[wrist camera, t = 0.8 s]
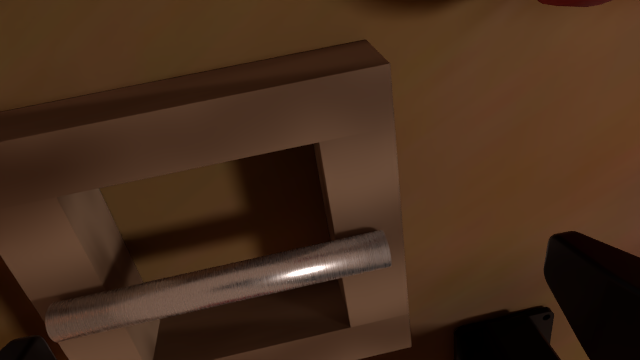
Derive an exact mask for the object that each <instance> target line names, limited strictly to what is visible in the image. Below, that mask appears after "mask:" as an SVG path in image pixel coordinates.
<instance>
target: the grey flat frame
mask: <svg viewBox="0 0 640 360" xmlns="http://www.w3.org/2000/svg"><path fill="white" fill-rule="evenodd" d="M308 144H313V146H314V152H315V157H316V163H317V168H318V174H319V180H320V185H321V191H322V196H323V202H324V208H325V213H326V219H327V224H328V230H329V235H330V241H333V240H338V239H342V238H347V237H351V236H356V235H360V234H365V233H369V232H374V231H378V230H383V231H384V233H385V236H386V238H387V241H388V245H389V249H390V254H391V261H392V265H391V267H387V268H382V269H378V270H374V271H369V272H365V273H360V274H356V275H352V276H347V277H343V278H338V279H334V280H330V281H325V282H321V283H316V284H312V285H308V286H303V287H299V288H295V289H290V290H286V291H281V292H277V293H273V294H268V295H264V296H259V297H255V298H251V299H246V300H242V301H237V302H233V303H229V304H224V305H220V306H215V307H211V308H207V309H202V310H198V311H193V312H189V313H185V314H180V315H176V316H171V317H167V318H163V319H158V320H154V321H149V322H145V323H141V324H136V325H132V326H127V327H123V328H119V329H114V330H110V331H105V332H101V333H97V334H92V335H88V336H83V337H79V338H75V339H70V340H66V341H61V342H58V344H59V345H60V347H61V348H62V350H63V351H64V353H65V354H66V356H67V357H68V359H69V360H358V359H363V358H367V357H371V356H375V355H379V354H384V353H388V352H392V351H396V350H400V349H405V348H409V347H412V346H411V333H410V320H409V306H408V293H407V280H406V267H405V254H404V241H403V227H402V214H401V201H400V188H399V175H398V162H397V148H396V135H395V122H394V109H393V96H392V83H391V69H390V63H389V62H388V61H387V60H386V59H385V58H384V57H383V56H382V55H381V54H380V53H379V52H378V51H377V50H376V49H375V48H374V47H373V46H372V45H371V44H370V43H369V42H368V41H367V40H362V41H357V42H352V43H347V44H342V45H337V46H332V47H327V48H322V49H317V50H312V51H307V52H302V53H297V54H291V55H286V56H281V57H276V58H271V59H266V60H261V61H256V62H251V63H246V64H241V65H236V66H231V67H226V68H221V69H216V70H211V71H206V72H201V73H195V74H190V75H185V76H180V77H175V78H170V79H165V80H160V81H155V82H150V83H145V84H140V85H135V86H130V87H125V88H120V89H115V90H110V91H104V92H99V93H94V94H89V95H84V96H79V97H74V98H69V99H64V100H59V101H54V102H49V103H44V104H39V105H34V106H29V107H24V108H19V109H13V110H8V111H3V112H0V255H1V257H2V258H3V260H4V262H5V263H6V265H7V266H8V268H9V269H10V271H11V272H12V274H13V275H14V277H15V278H16V280H17V281H18V283H19V284H20V286H21V287H22V289H23V290H24V292H25V293H26V295H27V297H28V298H29V300H30V301H31V303H32V304H33V306H34V307H35V309H36V310H37V312H38V313H39V315H40V316H41V318H42V319H43V321H44V322H45V316H46V311H47V309H48V307H49V305H50V304H52V303H55V302H59V301H64V300H68V299H73V298H77V297H82V296H86V295H91V294H95V293H100V292H104V291H109V290H113V289H118V288H122V287H127V286H131V285H136V284H140V283H143V281H142V279H141V277H140V275H139V273H138V270H137V268H136V266H135V264H134V262H133V260H132V258H131V256H130V253H129V251H128V249H127V247H126V245H125V243H124V241H123V239H122V236H121V234H120V232H119V230H118V228H117V226H116V224H115V222H114V219H113V217H112V215H111V213H110V211H109V209H108V207H107V204H106V202H105V200H104V198H103V196H102V194H101V192H100V190H99V188H103V187H108V186H112V185H117V184H122V183H127V182H132V181H136V180H141V179H146V178H151V177H155V176H160V175H165V174H170V173H174V172H179V171H184V170H189V169H194V168H198V167H203V166H208V165H213V164H217V163H222V162H227V161H232V160H236V159H241V158H246V157H251V156H256V155H260V154H265V153H270V152H275V151H279V150H284V149H289V148H294V147H299V146H303V145H308Z"/></svg>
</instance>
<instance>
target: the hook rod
mask: <svg viewBox="0 0 640 360" xmlns="http://www.w3.org/2000/svg"><path fill="white" fill-rule="evenodd" d="M391 265H392V261H391V254H390V249H389V245H388V241H387V238H386V236H385V233H384V231H383V230H378V231H374V232H369V233H365V234H360V235H356V236H351V237H347V238H342V239H338V240H333V241H329V242H324V243H320V244H315V245H311V246H306V247H302V248H297V249H293V250H289V251H284V252H280V253H275V254H271V255H266V256H262V257H257V258H253V259H248V260H244V261H239V262H235V263H230V264H226V265H221V266H217V267H212V268H208V269H203V270H199V271H194V272H190V273H185V274H181V275H176V276H172V277H167V278H163V279H158V280H154V281H149V282H145V283H140V284H136V285H131V286H127V287H122V288H118V289H113V290H109V291H104V292H100V293H95V294H91V295H86V296H82V297H77V298H73V299H68V300H64V301H59V302H55V303H52V304H50V305H49V307H48V309H47V311H46V316H45V325H46V330H47V333H48V335H49V337H50V338H51V340H52V341H54V342H61V341H66V340H70V339H75V338H79V337H83V336H88V335H92V334H97V333H101V332H105V331H110V330H114V329H119V328H123V327H127V326H132V325H136V324H141V323H145V322H149V321H154V320H158V319H163V318H167V317H171V316H176V315H180V314H185V313H189V312H193V311H198V310H202V309H207V308H211V307H215V306H220V305H224V304H229V303H233V302H237V301H242V300H246V299H251V298H255V297H259V296H264V295H268V294H273V293H277V292H281V291H286V290H290V289H295V288H299V287H303V286H308V285H312V284H316V283H321V282H325V281H330V280H334V279H338V278H343V277H347V276H352V275H356V274H360V273H365V272H369V271H374V270H378V269H382V268H387V267H391Z"/></svg>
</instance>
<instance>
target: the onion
mask: <svg viewBox="0 0 640 360" xmlns="http://www.w3.org/2000/svg"><path fill="white" fill-rule="evenodd" d="M538 1H539V2H541V3H542V4H548V5H554V6H574V7H589V6H595V5H600V4H603V3H606V2H609V1H611V0H538Z"/></svg>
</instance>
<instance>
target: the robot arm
mask: <svg viewBox="0 0 640 360" xmlns="http://www.w3.org/2000/svg"><path fill="white" fill-rule="evenodd" d="M544 276H545V279H546V282H547V284H548V286H549V287H550V289H551V291H552V293H553V295H554V297H555V298H556V300H557V302H558V304H559V306H560V307H561V309H562V311H563V313H564V315H565V317H566V318H567V320H568V322H569V324H570V326H571V328H572V329H573V331H574V333H575V335H576V337H577V338H578V340H579V342H580V344H581V346H582V347H583V349H584V351H585V352H586V354H587V356H588V357H589V359H590V360H640V258H639V257H637V256H635V255H632V254H630V253H627V252H625V251H622V250H620V249H618V248H615V247H613V246H610V245H608V244H605V243H603V242H600V241H598V240H596V239H593V238H591V237H588V236H586V235H583V234H581V233H578V232H576V231H568V232H563V233H558V234H554V235H552V236H551V237H550V238H549V241H548V246H547V252H546V258H545V264H544ZM553 319H554V313H553V312H552V311H551V310H550V308H548V307H543V308H539V309H535V310H531V311H526V312H522V313H518V314H514V315H509V316H505V317H501V318H497V319H493V320H488V321H484V322H480V323H476V324H472V325H467V326H463V327H460V328H458V329H457V330H456V331H455V333H454V360H561V359H560V358H559V357H558V355H557V354H556V352H555V351H554V350H553V348H552V347H551V345H550V338H551V332H552V325H553ZM0 360H57V359H56V358H55V356H54V354H53V353H52V351H51V349H50V348H49V346H48V344H47V343H46V341H45V340H44V338H43V337H41V336H39V335H33V336H28V337H23V338H18V339H15V340H12V341H11V342H9V343H8V344H7V345H6V346H5V347H4V348H2V349H1V350H0Z"/></svg>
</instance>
